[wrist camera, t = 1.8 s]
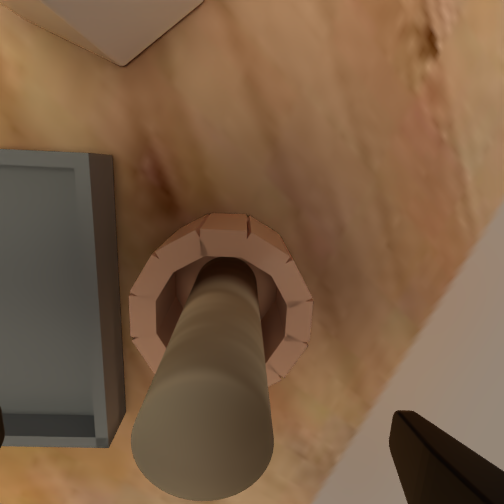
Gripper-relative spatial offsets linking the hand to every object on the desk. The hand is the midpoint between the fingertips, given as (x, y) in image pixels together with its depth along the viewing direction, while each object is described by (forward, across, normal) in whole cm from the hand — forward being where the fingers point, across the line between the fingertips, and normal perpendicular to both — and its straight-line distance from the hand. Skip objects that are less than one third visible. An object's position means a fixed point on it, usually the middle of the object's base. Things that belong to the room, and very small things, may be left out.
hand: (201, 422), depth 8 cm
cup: (+10, 0, 0) cm, 10 cm away
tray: (+10, +12, +1) cm, 15 cm away
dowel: (+9, 0, 0) cm, 9 cm away
